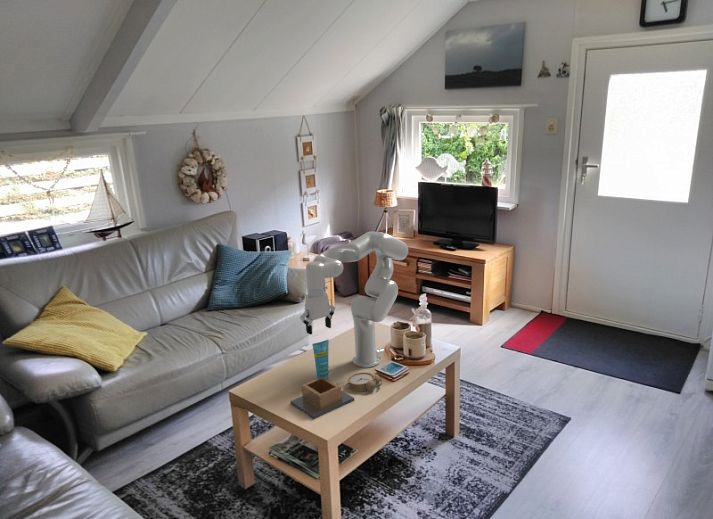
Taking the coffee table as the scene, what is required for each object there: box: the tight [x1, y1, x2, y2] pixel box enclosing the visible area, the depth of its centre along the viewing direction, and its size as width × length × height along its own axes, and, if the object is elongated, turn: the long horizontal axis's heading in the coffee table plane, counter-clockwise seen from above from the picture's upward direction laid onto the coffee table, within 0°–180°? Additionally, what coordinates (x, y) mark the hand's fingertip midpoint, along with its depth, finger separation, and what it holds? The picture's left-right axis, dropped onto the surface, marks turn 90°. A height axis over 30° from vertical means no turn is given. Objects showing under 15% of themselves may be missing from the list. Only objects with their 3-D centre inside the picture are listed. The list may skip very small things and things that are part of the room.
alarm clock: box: [345, 371, 383, 392], centre depth 233 cm, size 11×5×15 cm
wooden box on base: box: [290, 376, 355, 420], centre depth 221 cm, size 20×16×7 cm
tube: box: [312, 339, 330, 380], centre depth 236 cm, size 7×5×19 cm, turn 123°
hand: (319, 330), depth 231 cm, fingers open, 9 cm apart
